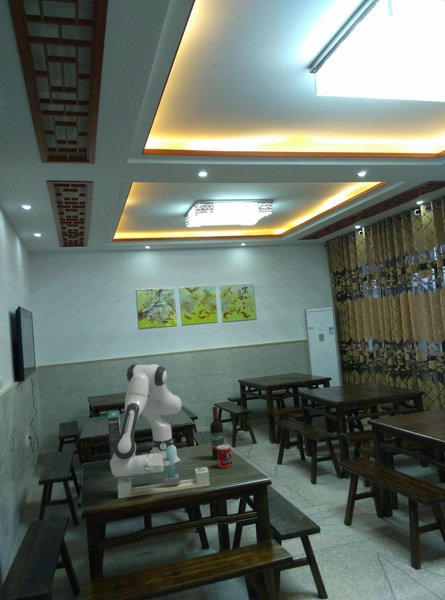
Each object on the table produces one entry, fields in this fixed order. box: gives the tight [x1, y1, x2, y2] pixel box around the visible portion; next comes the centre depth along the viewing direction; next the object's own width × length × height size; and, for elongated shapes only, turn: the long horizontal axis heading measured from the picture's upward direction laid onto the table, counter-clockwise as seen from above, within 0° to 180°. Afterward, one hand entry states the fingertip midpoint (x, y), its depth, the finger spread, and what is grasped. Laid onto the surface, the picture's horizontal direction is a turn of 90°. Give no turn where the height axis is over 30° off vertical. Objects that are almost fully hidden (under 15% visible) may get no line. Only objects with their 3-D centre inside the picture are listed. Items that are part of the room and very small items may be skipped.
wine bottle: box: [209, 406, 225, 461], centre depth 267 cm, size 8×8×30 cm
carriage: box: [163, 447, 180, 486], centre depth 224 cm, size 7×7×17 cm
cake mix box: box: [107, 410, 122, 461], centre depth 272 cm, size 22×6×30 cm, turn 12°
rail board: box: [116, 466, 211, 499], centre depth 223 cm, size 8×44×7 cm, turn 99°
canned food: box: [217, 444, 233, 470], centre depth 250 cm, size 8×8×11 cm
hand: (172, 460), depth 224 cm, fingers closed on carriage, 4 cm apart
